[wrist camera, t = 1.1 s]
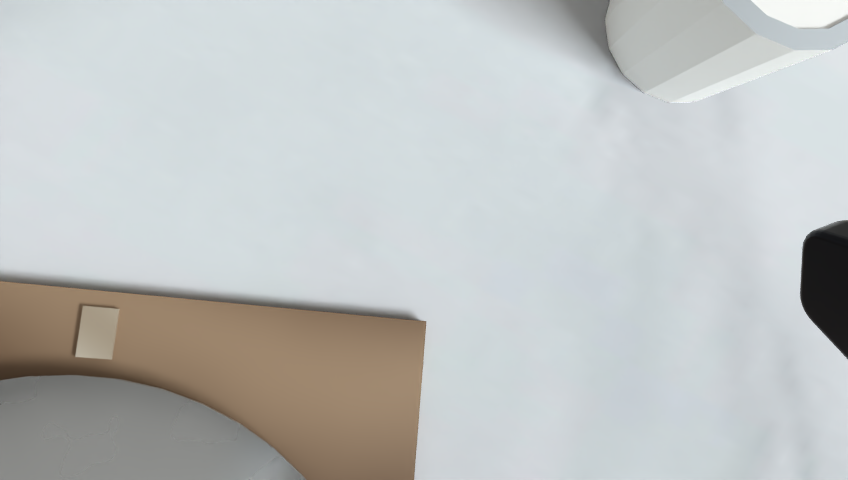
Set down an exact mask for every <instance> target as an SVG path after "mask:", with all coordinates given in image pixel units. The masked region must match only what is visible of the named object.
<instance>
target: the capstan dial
mask: <svg viewBox="0 0 848 480" xmlns="http://www.w3.org/2000/svg"><path fill="white" fill-rule="evenodd" d="M0 480H306V479H305V477H304V476H303V475H302V474H301V473H300V472H299V471H298V470H297V469H296V468H295V467H294V466H293V465H292V464H291V463H290V462H289V461H288V460H286V459H285V458H284V457H283V456H282V455H281V454H280V453H279V452H278V451H277V450H276V449H275V448H274V447H273V446H271V445H270V444H269V443H267V442H266V441H265V440H263V439H262V438H260V437H259V436H258V435H256V434H255V433H253V432H252V431H251V430H249V429H248V428H246V427H245V426H244V425H242V424H241V423H239V422H238V421H236V420H234V419H232V418H230V417H228V416H226V415H224V414H222V413H220V412H219V411H217V410H215V409H213V408H211V407H209V406H207V405H205V404H203V403H201V402H198V401H196V400H193V399H190V398H187V397H185V396H182V395H179V394H176V393H174V392H171V391H168V390H165V389H163V388H158V387H154V386H149V385H145V384H140V383H136V382H131V381H127V380H122V379H115V378H104V377H93V376H82V375H53V376H26V377H19V378H12V379H6V380H0Z"/></svg>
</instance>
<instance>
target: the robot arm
mask: <svg viewBox="0 0 848 480" xmlns="http://www.w3.org/2000/svg"><path fill="white" fill-rule="evenodd" d="M800 298H801V303H802V306H803V308H804V310H805V312H806V314H807V315H808V317H809V318H810V319H811V320H812V321H813V323H814V324H815V325H816V326H817V327H818V328H819V329H820V330H821V331H822V332H823V333H824V334H825V335H826V336H827V337H828V339H829V340H830V341H831V342H832V343H833V344H834V345H835V346H836V347H837V348H838V349H839V350H840V351H841V352H842V353H843V355H844V356H845V357H846V358H847V359H848V220H843V221H837V222H834V223H832V224H829V225H827V226H824V227H821V228H819V229H816V230H814V231H812V232H810V233H809V234H808V235H807V236H806V238H805V240H804V242H803V249H802V268H801V288H800Z"/></svg>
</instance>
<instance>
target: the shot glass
mask: <svg viewBox="0 0 848 480" xmlns="http://www.w3.org/2000/svg"><path fill="white" fill-rule="evenodd" d="M605 25H606V33H607V40H608V47H609V50H610V52H611V53H612V55H613V57H614V59H615V61H616V63H617V65H618V67H619V68H620V70H621V72H622V74H623V75H624V76H625V77H626V78H627V79H629V80H630V81H631V82H632V83H633V84H634V85H635V86H636V87H637V88H638V89H640V90H641V91H642V92H643V93H644V94H647V95H650V96H652V97H655V98H657V99H660V100H662V101H665V102H667V103H687V102H696V101H699V100H701V99H704V98H707V97H709V96H712V95H715V94H717V93H720V92H723V91H725V90H728V89H730V88H733V87H736V86H738V85H741V84H744V83H746V82H749V81H752V80H754V79H757V78H760V77H762V76H765V75H768V74H770V73H773V72H775V71H778V70H781V69H783V68H786V67H789V66H791V65H794V64H797V63H799V62H802V61H805V60H807V59H810V58H812V57H815V56H818V55H820V54H823V53H826V52H828V51H831V50H833V49H835V48H837V47H839V46H841V45H843V44H845V43H846V42H848V0H610V2H609V6H608V10H607V14H606V18H605Z"/></svg>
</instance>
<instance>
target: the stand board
mask: <svg viewBox="0 0 848 480" xmlns="http://www.w3.org/2000/svg"><path fill="white" fill-rule="evenodd" d="M425 331H426V321H416V320H406V319H395V318H384V317H374V316H363V315H353V314H342V313H332V312H321V311H310V310H300V309H289V308H279V307H268V306H258V305H247V304H236V303H226V302H215V301H205V300H194V299H184V298H173V297H162V296H152V295H141V294H131V293H120V292H109V291H99V290H88V289H78V288H67V287H57V286H46V285H35V284H25V283H14V282H4V281H0V380H6V379H12V378H19V377H26V376H53V375H82V376H93V377H104V378H115V379H122V380H127V381H131V382H136V383H140V384H145V385H149V386H154V387H158V388H163V389H165V390H168V391H171V392H174V393H176V394H179V395H182V396H185V397H187V398H190V399H193V400H196V401H198V402H201V403H203V404H205V405H207V406H209V407H211V408H213V409H215V410H217V411H219V412H220V413H222V414H224V415H226V416H228V417H230V418H232V419H234V420H236V421H238V422H239V423H241V424H242V425H244V426H245V427H246V428H248V429H249V430H251V431H252V432H253V433H255V434H256V435H258V436H259V437H260V438H262V439H263V440H265V441H266V442H267V443H269V444H270V445H271V446H273V447H274V448H275V449H276V450H277V451H278V452H279V453H280V454H281V455H282V456H283V457H284V458H285V459H286V460H288V461H289V462H290V463H291V464H292V465H293V466H294V467H295V468H296V469H297V470H298V471H299V472H300V473H301V474H302V475H303V476H304V477H305V479H306V480H414V472H415V459H416V446H417V433H418V421H419V408H420V395H421V382H422V370H423V357H424V344H425Z"/></svg>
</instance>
